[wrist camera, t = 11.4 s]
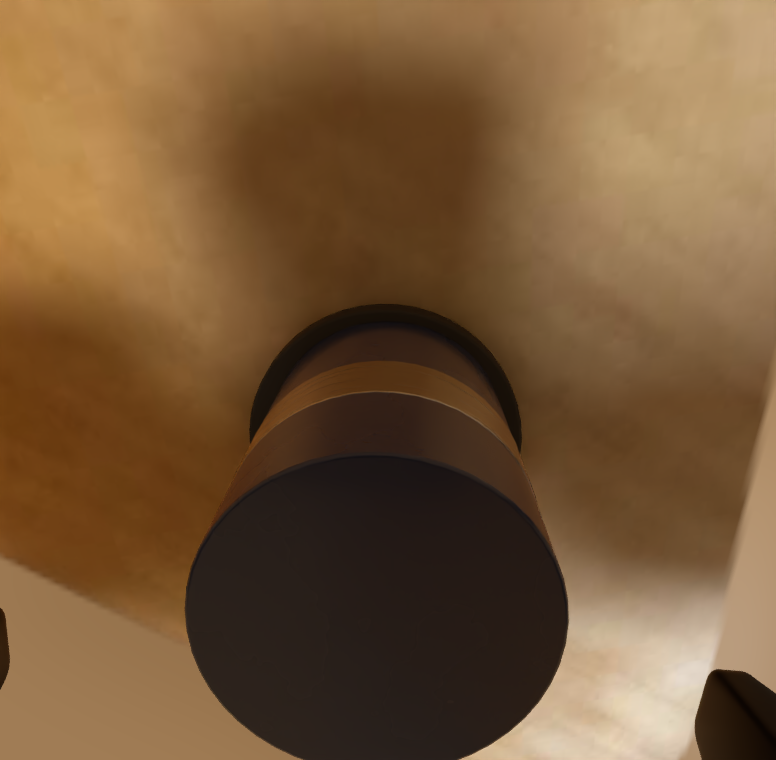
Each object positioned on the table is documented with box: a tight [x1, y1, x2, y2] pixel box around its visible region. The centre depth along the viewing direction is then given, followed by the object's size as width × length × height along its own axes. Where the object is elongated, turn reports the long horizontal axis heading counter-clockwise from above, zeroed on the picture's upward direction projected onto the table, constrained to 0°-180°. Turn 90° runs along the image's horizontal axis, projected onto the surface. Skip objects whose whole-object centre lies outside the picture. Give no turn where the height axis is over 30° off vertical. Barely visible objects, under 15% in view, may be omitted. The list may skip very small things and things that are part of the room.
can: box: [185, 321, 569, 760], centre depth 12 cm, size 5×5×6 cm
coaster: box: [249, 304, 522, 453], centre depth 16 cm, size 6×6×1 cm
